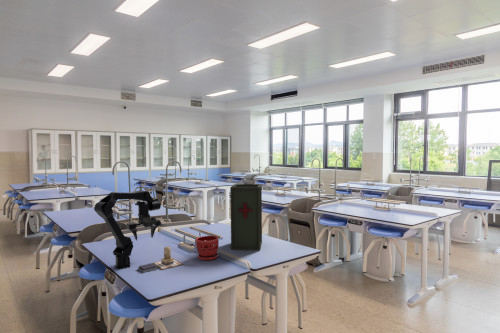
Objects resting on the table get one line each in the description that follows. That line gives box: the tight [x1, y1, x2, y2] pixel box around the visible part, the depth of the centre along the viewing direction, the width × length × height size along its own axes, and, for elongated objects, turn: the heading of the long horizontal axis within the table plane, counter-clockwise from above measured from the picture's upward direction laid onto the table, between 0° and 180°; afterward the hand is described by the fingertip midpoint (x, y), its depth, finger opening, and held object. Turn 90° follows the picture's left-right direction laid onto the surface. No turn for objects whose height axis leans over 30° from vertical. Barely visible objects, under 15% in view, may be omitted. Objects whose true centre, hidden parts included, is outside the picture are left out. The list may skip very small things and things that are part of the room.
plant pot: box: [195, 235, 220, 261], centre depth 192 cm, size 13×13×12 cm
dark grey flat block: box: [137, 262, 159, 274], centre depth 174 cm, size 8×7×2 cm
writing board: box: [152, 258, 185, 271], centre depth 182 cm, size 13×13×1 cm
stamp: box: [160, 246, 175, 266], centre depth 182 cm, size 5×5×9 cm
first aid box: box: [229, 183, 263, 251], centre depth 215 cm, size 18×18×40 cm
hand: (144, 238), depth 190 cm, fingers open, 9 cm apart
